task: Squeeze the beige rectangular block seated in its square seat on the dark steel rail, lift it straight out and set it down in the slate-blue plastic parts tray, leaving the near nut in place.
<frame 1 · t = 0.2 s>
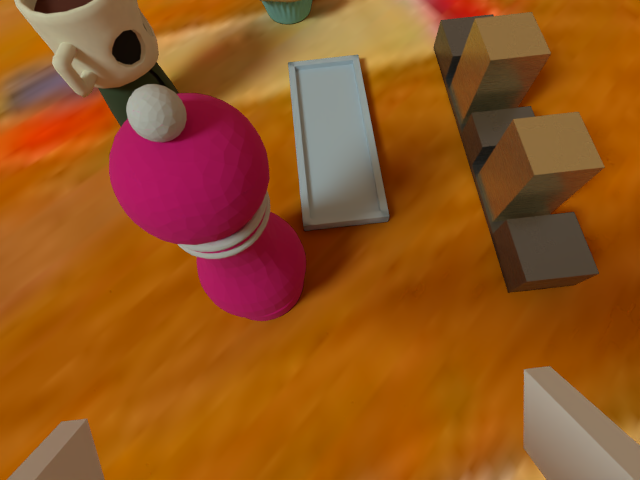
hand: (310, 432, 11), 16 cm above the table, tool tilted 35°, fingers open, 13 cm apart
pepper mill: (265, 282, 30), on the table
rail: (493, 148, 33), on the table
tray: (333, 138, 35), on the table
cupcake: (288, 12, 42), on the table
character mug: (155, 117, 37), on the table
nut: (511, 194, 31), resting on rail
beige rectangular block: (479, 101, 35), resting on rail
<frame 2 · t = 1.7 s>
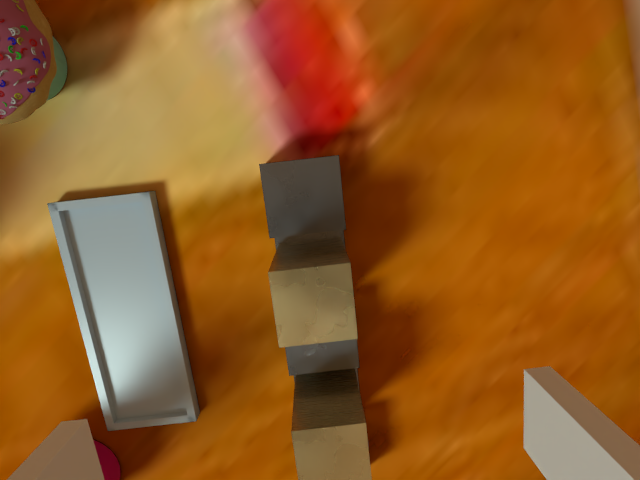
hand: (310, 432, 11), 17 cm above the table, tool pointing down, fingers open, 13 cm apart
pepper mill: (85, 466, 31), on the table
rail: (320, 329, 29), on the table
tray: (133, 314, 28), on the table
cupcake: (31, 66, 25), on the table
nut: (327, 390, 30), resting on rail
beige rectangular block: (313, 270, 28), resting on rail
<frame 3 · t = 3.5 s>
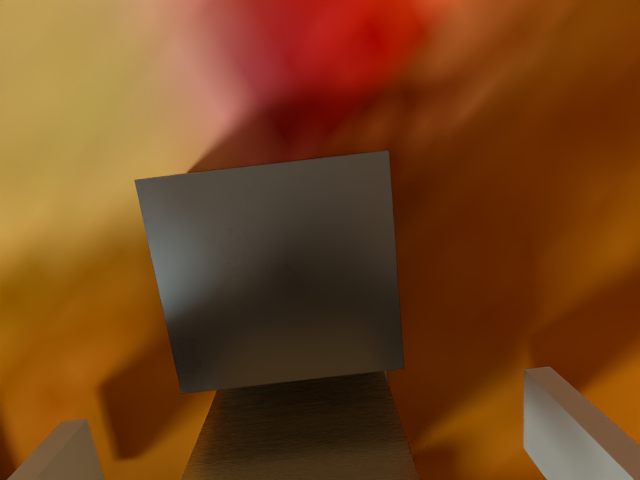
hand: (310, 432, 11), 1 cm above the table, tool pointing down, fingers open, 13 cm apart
beige rectangular block: (310, 425, 12), resting on rail
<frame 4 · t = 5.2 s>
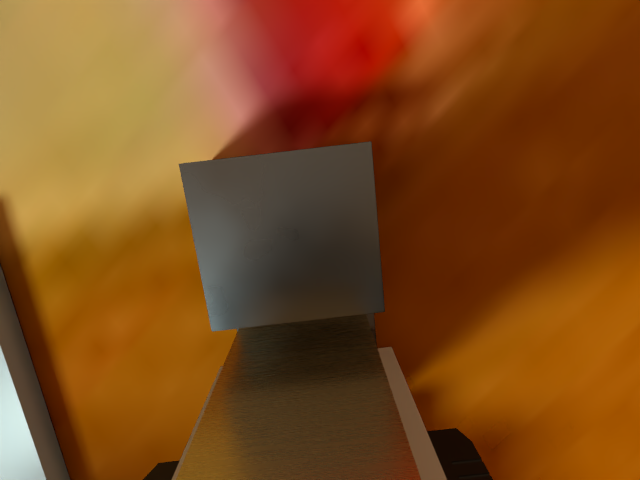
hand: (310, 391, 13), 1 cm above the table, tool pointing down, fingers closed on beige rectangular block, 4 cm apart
rail: (326, 471, 16), on the table
beige rectangular block: (310, 375, 14), point 1 cm above the table, touching gripper
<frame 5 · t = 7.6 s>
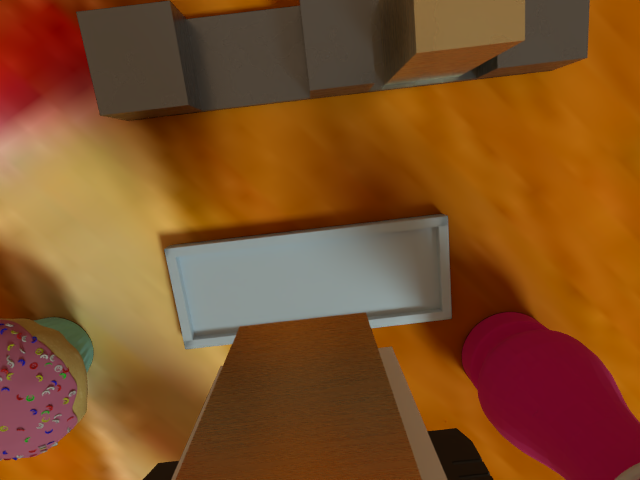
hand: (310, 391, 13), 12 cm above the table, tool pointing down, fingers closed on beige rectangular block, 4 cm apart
pepper mill: (502, 350, 27), on the table
rail: (334, 51, 22), on the table
tray: (312, 280, 25), on the table
cupcake: (62, 348, 26), on the table
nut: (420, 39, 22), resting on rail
beige rectangular block: (310, 375, 14), point 12 cm above the table, touching gripper
when the fingers open (1 cm above the table, at t = 9.8 s): beige rectangular block stays where it is, resting on tray.
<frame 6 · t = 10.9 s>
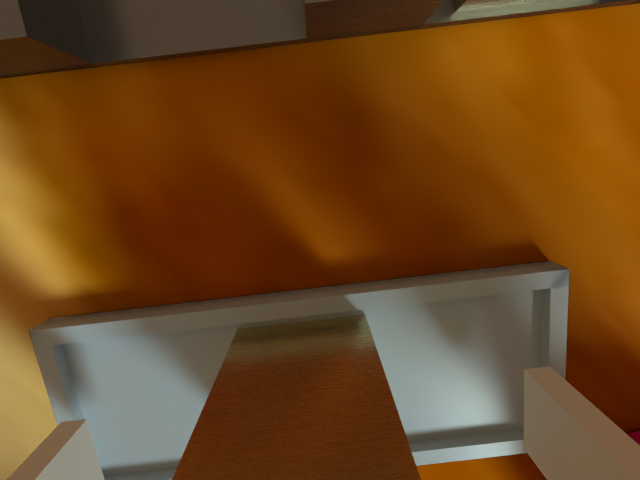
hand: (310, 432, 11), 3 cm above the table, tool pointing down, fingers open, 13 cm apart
tray: (310, 376, 14), on the table
beige rectangular block: (308, 378, 14), resting on tray
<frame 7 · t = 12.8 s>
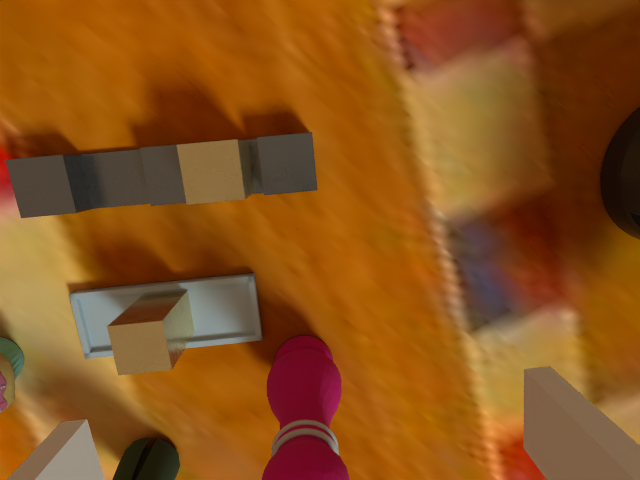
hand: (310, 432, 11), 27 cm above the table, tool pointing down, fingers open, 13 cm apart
pepper mill: (303, 360, 41), on the table
rail: (176, 173, 35), on the table
tray: (171, 313, 38), on the table
cupcake: (3, 357, 39), on the table
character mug: (154, 456, 42), on the table
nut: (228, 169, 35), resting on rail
beige rectangular block: (168, 313, 38), resting on tray
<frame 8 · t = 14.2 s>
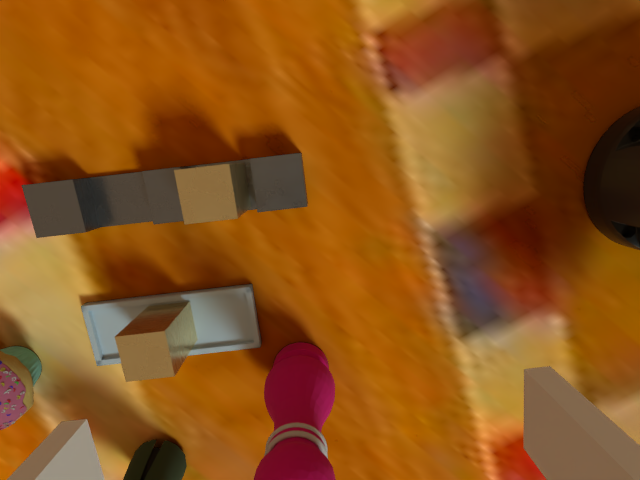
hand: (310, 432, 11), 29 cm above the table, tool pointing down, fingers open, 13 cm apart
pepper mill: (301, 365, 43), on the table
rail: (177, 193, 38), on the table
tray: (175, 323, 41), on the table
cupcake: (22, 365, 42), on the table
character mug: (162, 457, 45), on the table
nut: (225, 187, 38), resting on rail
beige rectangular block: (173, 323, 41), resting on tray
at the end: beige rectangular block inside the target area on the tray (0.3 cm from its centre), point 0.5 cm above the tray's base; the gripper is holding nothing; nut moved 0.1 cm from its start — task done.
